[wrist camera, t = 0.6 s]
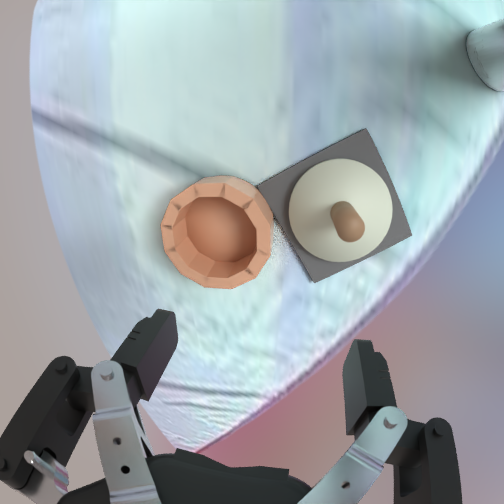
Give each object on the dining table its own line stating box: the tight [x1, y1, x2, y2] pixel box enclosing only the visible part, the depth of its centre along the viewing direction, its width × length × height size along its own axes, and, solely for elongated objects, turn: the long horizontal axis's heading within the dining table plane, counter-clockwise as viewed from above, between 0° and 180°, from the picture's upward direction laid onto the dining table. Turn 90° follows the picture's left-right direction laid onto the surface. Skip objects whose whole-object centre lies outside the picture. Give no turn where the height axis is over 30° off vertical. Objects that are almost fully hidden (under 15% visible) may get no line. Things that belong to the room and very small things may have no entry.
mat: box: [257, 129, 412, 283], centre depth 31 cm, size 14×14×1 cm
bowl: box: [161, 175, 274, 289], centre depth 32 cm, size 12×12×5 cm
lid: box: [289, 158, 393, 262], centre depth 28 cm, size 12×12×6 cm
